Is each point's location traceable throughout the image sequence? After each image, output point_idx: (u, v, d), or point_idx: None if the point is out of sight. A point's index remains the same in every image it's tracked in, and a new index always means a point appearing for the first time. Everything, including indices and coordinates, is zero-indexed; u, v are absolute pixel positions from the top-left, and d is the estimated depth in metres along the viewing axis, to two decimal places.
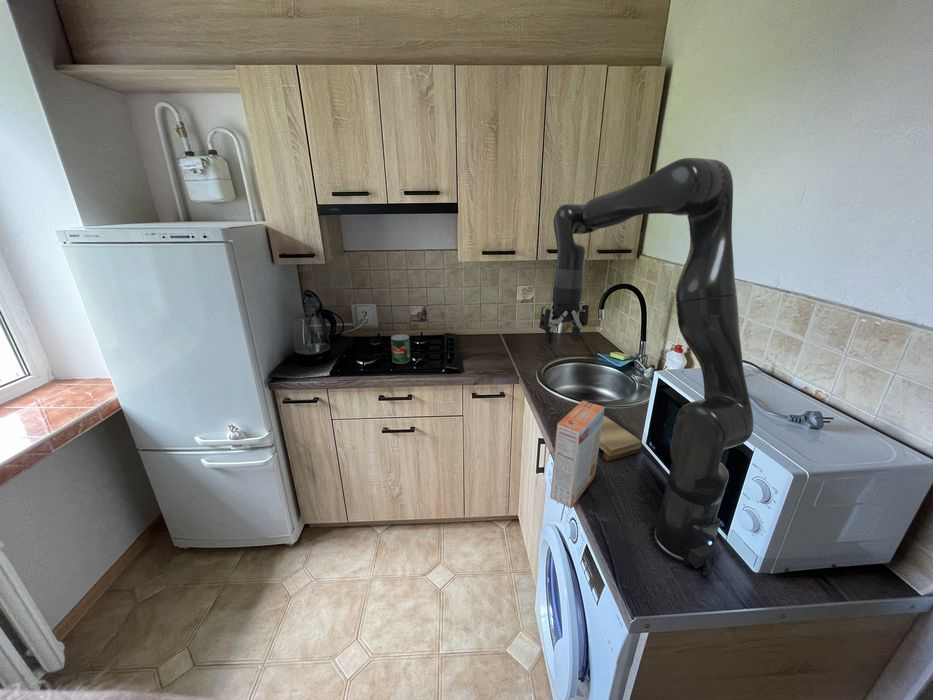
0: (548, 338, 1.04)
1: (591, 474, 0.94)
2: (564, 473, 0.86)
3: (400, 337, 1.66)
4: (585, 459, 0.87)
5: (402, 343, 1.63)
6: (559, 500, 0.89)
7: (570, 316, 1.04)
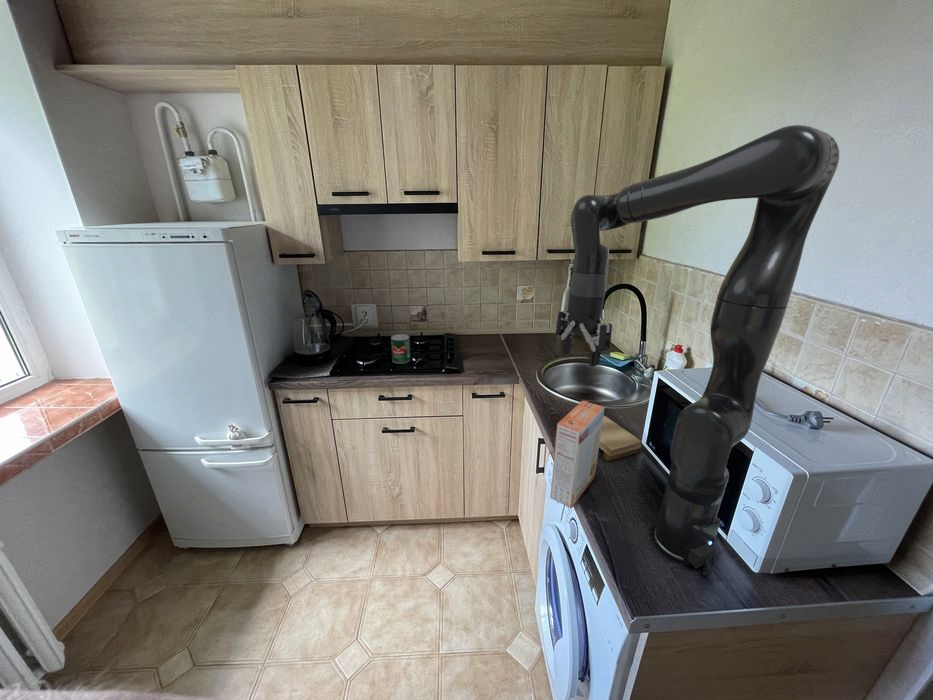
0: (562, 346, 0.93)
1: (591, 474, 0.94)
2: (564, 473, 0.86)
3: (400, 337, 1.66)
4: (585, 459, 0.87)
5: (402, 343, 1.63)
6: (559, 500, 0.89)
7: None
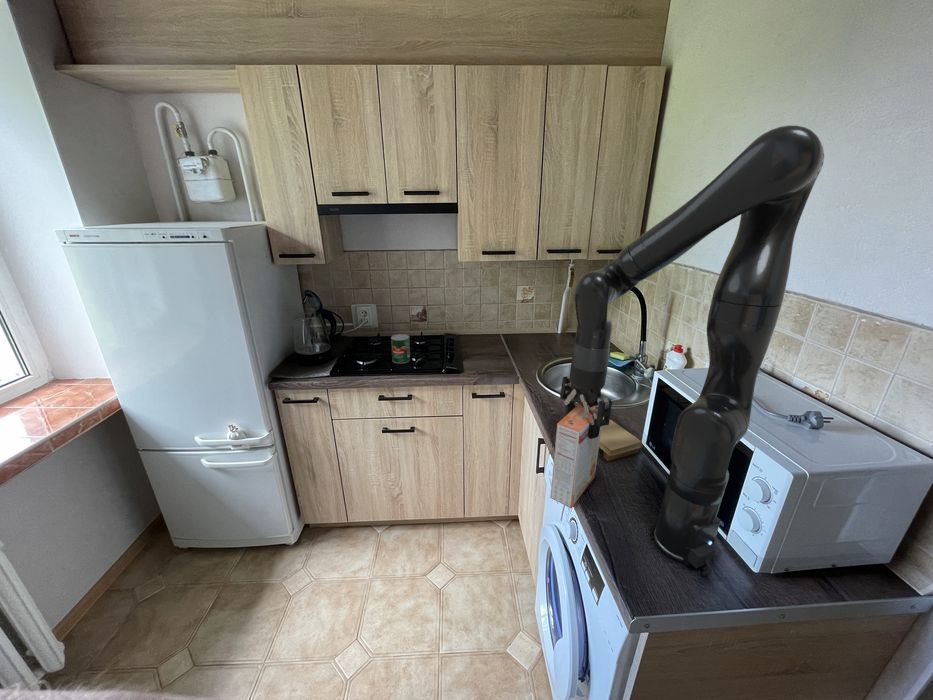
0: (565, 410, 0.91)
1: (591, 474, 0.94)
2: (564, 473, 0.86)
3: (400, 337, 1.66)
4: (585, 459, 0.87)
5: (402, 343, 1.63)
6: (559, 500, 0.89)
7: None
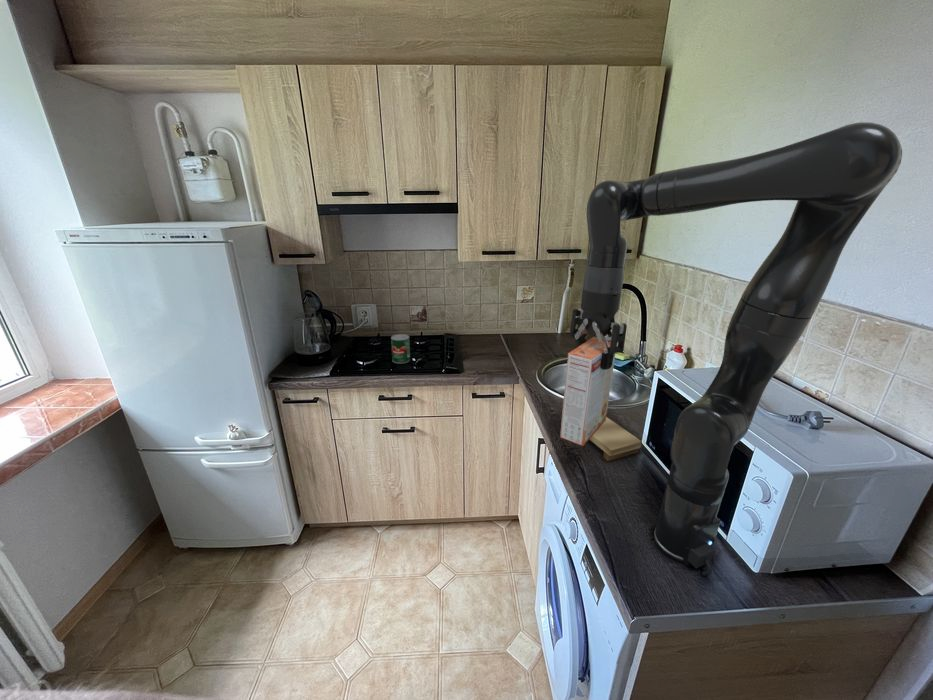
0: (575, 346, 0.87)
1: (602, 415, 0.89)
2: (575, 407, 0.81)
3: (400, 337, 1.66)
4: (597, 394, 0.82)
5: (402, 343, 1.63)
6: (569, 439, 0.84)
7: None
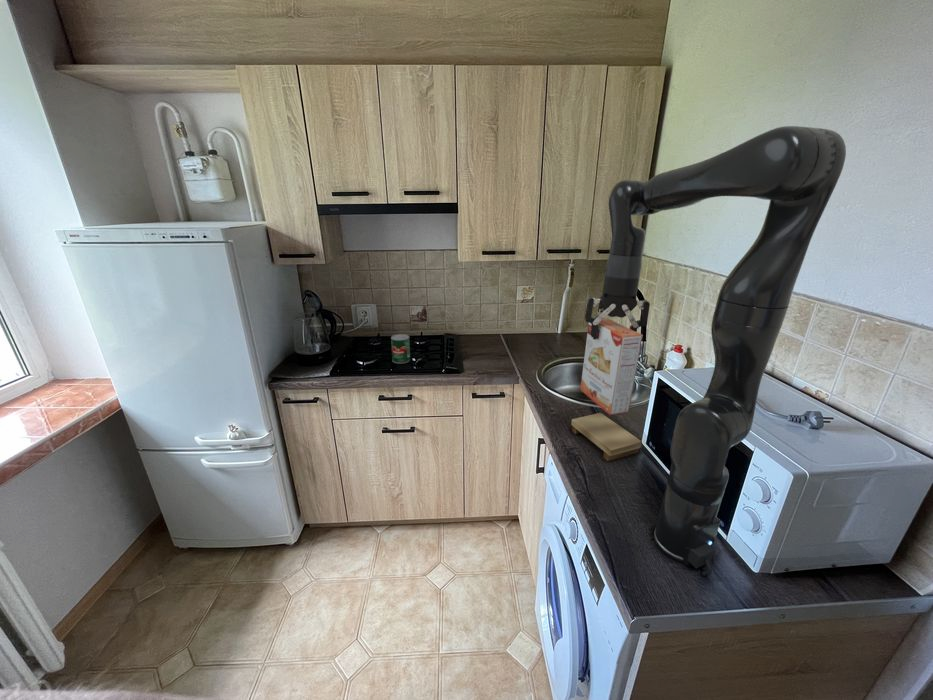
0: (592, 331, 0.94)
1: None
2: (625, 382, 0.91)
3: (400, 337, 1.66)
4: None
5: (402, 343, 1.63)
6: (618, 411, 0.94)
7: (622, 311, 0.90)
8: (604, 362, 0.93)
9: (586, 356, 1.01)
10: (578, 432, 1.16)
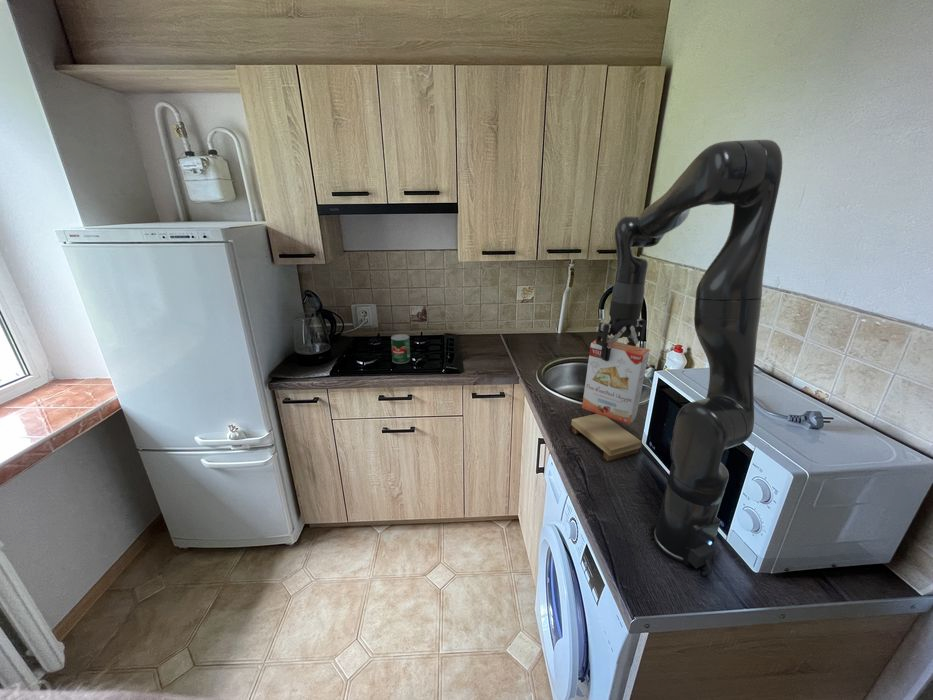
0: (605, 354, 1.00)
1: None
2: (639, 393, 1.02)
3: (400, 337, 1.66)
4: None
5: (402, 343, 1.63)
6: (633, 419, 1.05)
7: (628, 331, 1.00)
8: (619, 380, 1.01)
9: (589, 376, 1.07)
10: (578, 432, 1.16)
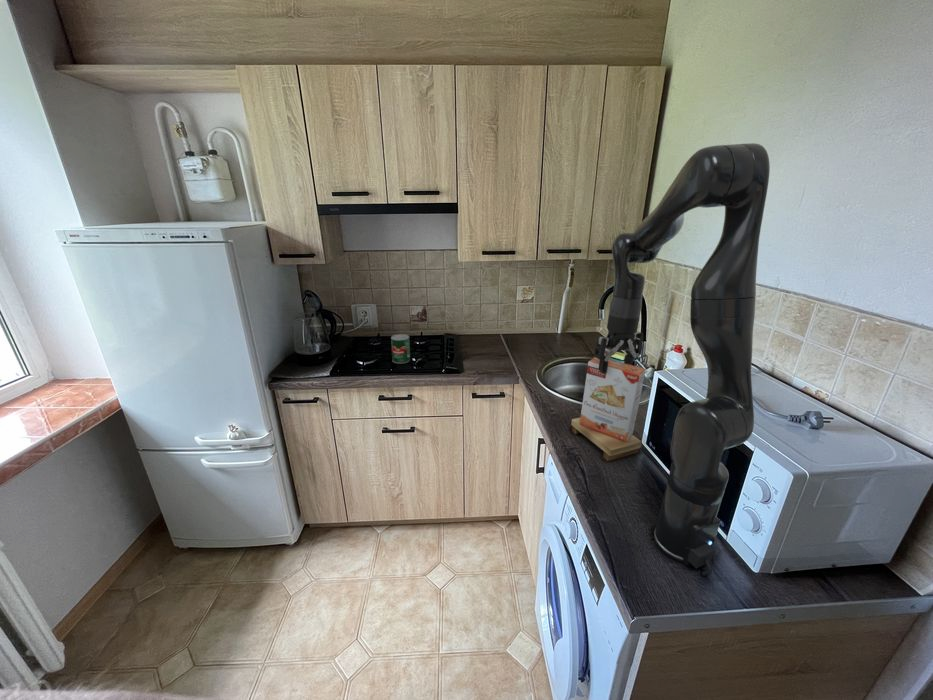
0: (603, 367, 1.01)
1: None
2: (635, 411, 1.04)
3: (400, 337, 1.66)
4: None
5: (402, 343, 1.63)
6: (629, 436, 1.07)
7: (625, 345, 1.01)
8: (616, 398, 1.03)
9: (587, 394, 1.09)
10: (578, 432, 1.16)
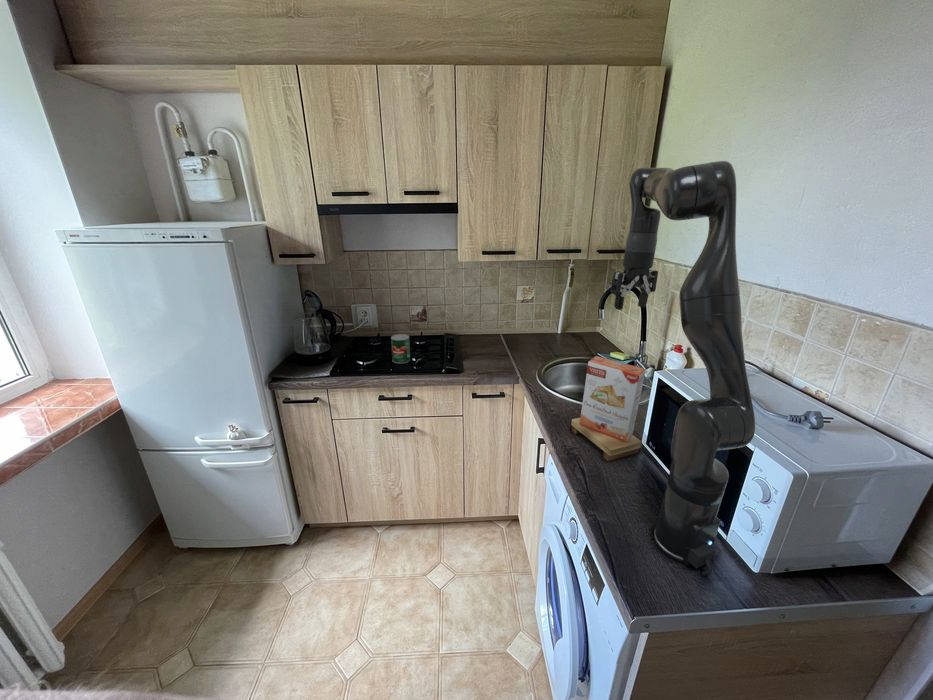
0: (619, 303, 1.05)
1: None
2: (635, 411, 1.04)
3: (400, 337, 1.66)
4: None
5: (402, 343, 1.63)
6: (629, 436, 1.07)
7: (640, 281, 1.05)
8: (616, 398, 1.03)
9: (587, 394, 1.09)
10: (578, 432, 1.16)
